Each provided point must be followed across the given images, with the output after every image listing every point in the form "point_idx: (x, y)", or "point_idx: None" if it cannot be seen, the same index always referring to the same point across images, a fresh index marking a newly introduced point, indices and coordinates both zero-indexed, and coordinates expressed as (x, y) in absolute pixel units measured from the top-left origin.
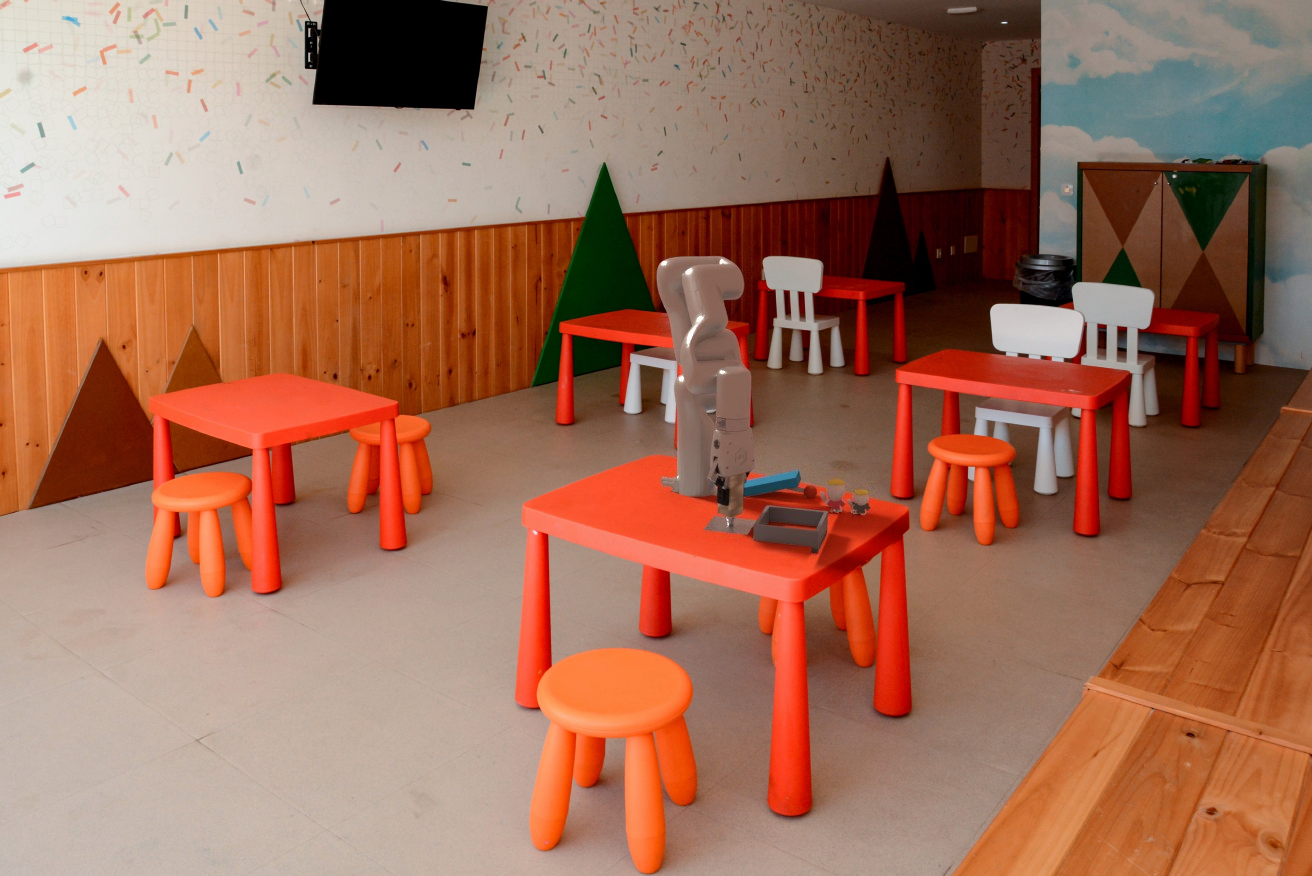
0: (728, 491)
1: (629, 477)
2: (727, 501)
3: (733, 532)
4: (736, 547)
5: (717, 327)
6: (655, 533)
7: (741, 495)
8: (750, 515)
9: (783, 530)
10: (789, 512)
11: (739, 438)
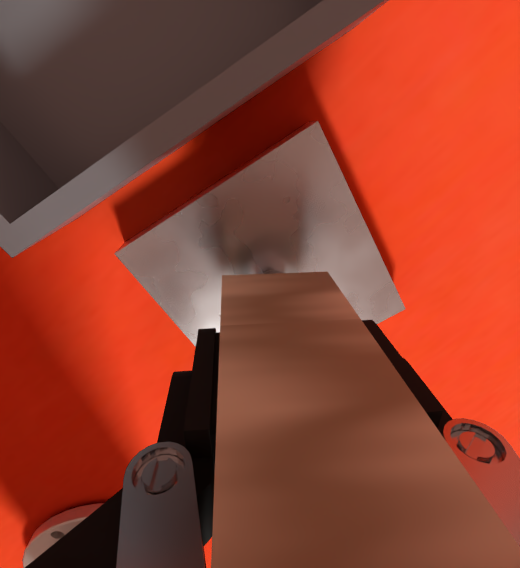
0: (416, 393)
1: None
2: (382, 336)
3: (342, 198)
4: (416, 91)
5: None
6: (468, 401)
7: (242, 344)
8: (57, 355)
9: None
10: None
11: None
